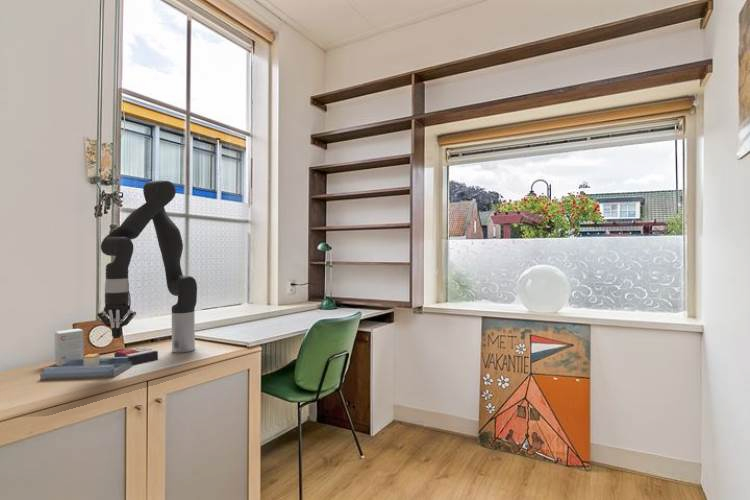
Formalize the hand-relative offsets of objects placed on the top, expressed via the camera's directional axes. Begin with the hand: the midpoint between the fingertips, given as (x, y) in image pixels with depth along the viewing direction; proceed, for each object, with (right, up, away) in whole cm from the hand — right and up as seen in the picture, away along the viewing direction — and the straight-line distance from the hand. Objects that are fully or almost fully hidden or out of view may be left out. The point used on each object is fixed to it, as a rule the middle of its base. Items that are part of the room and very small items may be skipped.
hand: (116, 337), depth 147 cm
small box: (-26, -13, +11) cm, 31 cm away
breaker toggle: (-9, -10, -1) cm, 14 cm away
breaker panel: (-10, -13, -1) cm, 16 cm away
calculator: (-3, -13, +17) cm, 21 cm away
